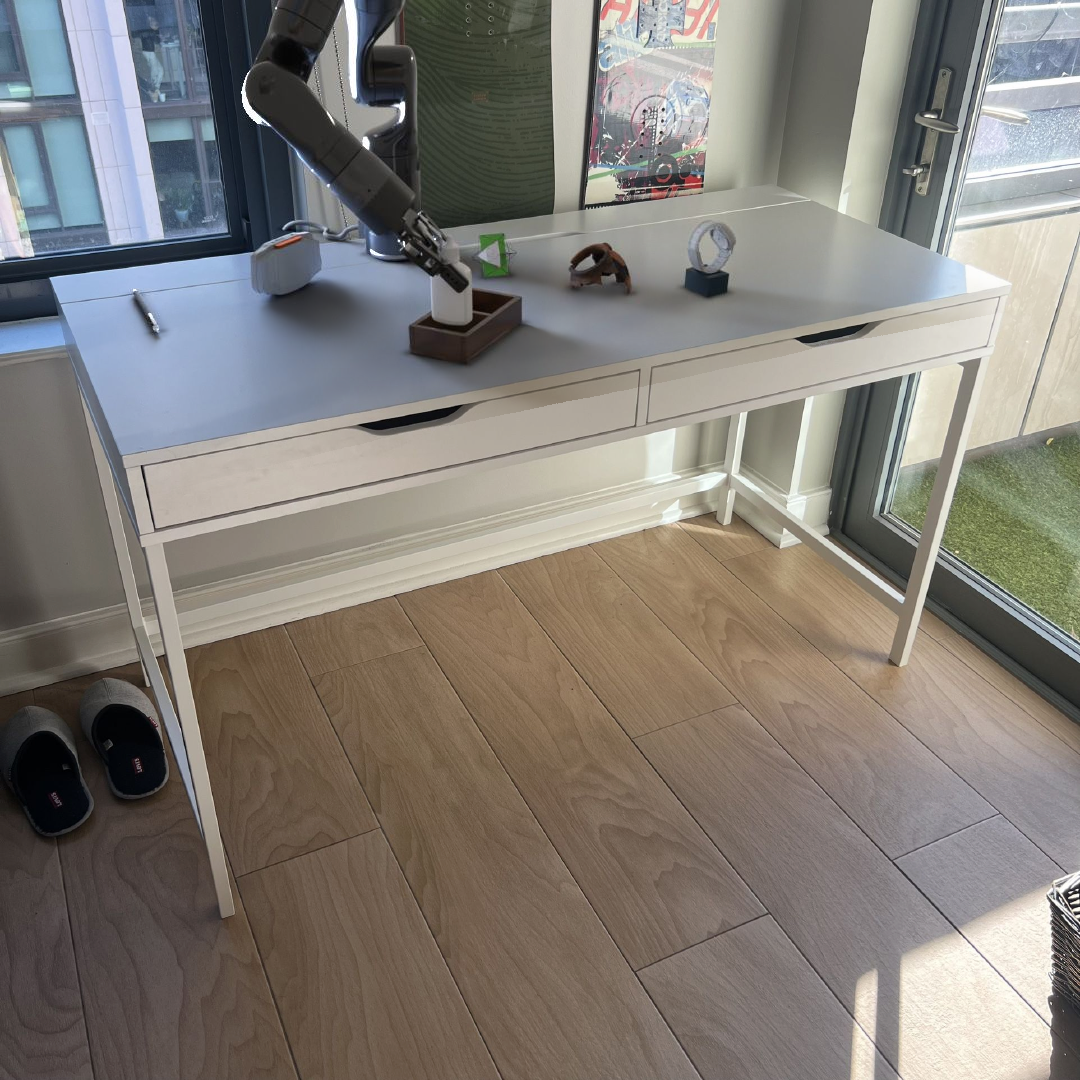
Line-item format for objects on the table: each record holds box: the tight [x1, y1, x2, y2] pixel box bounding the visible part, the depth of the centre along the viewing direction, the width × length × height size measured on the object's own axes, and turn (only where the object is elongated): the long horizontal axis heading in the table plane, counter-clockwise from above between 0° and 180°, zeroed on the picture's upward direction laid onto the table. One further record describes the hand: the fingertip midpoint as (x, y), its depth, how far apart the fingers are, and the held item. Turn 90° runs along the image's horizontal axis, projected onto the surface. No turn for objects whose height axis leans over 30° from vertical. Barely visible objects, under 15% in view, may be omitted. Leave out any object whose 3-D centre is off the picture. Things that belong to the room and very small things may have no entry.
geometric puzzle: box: [470, 232, 518, 278], centre depth 175 cm, size 7×7×8 cm
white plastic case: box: [250, 231, 323, 296], centre depth 168 cm, size 14×3×8 cm, turn 150°
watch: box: [683, 219, 737, 298], centre depth 169 cm, size 6×8×11 cm
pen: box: [132, 288, 160, 333], centre depth 160 cm, size 1×19×1 cm, turn 28°
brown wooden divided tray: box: [408, 287, 523, 365], centre depth 153 cm, size 9×17×4 cm, turn 155°
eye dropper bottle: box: [430, 234, 473, 325], centre depth 145 cm, size 4×6×12 cm
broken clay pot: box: [568, 242, 633, 295], centre depth 171 cm, size 12×10×8 cm
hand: (465, 282), depth 146 cm, fingers closed on eye dropper bottle, 4 cm apart
